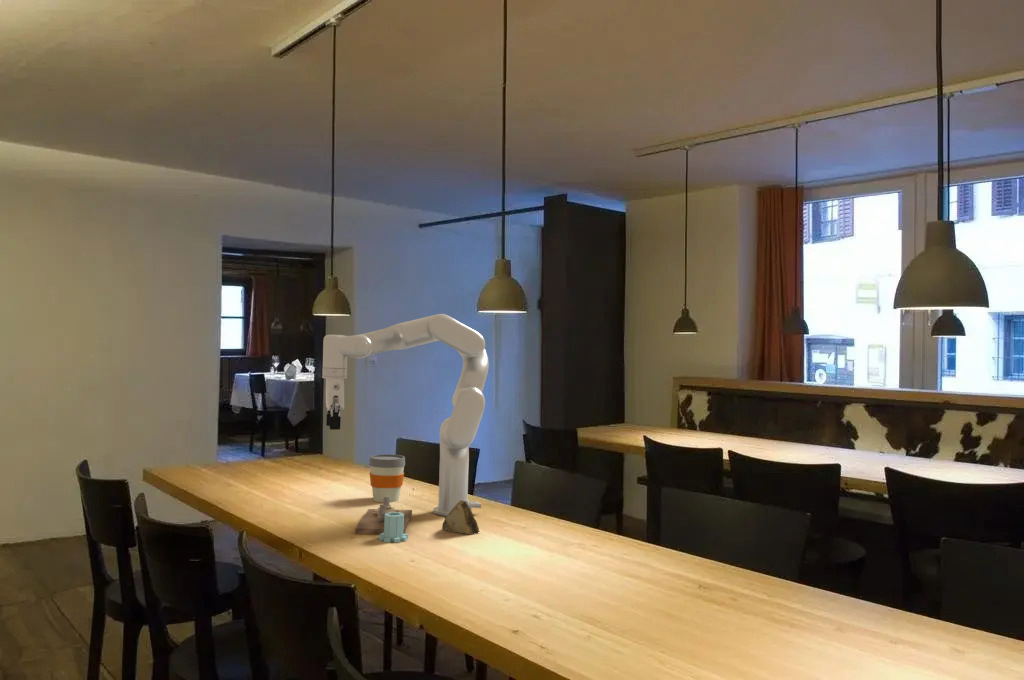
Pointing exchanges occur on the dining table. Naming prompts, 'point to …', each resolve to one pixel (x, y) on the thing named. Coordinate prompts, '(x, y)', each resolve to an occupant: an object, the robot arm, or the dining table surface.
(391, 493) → the reusable coffee cup
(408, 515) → the gear board
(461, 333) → the robot arm
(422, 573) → the dining table surface
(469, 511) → the rock
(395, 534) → the loose cog
